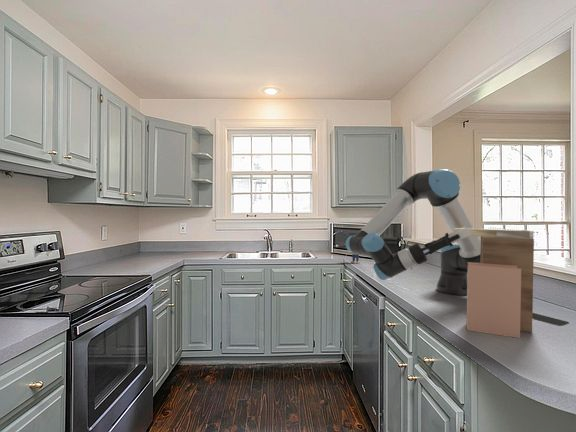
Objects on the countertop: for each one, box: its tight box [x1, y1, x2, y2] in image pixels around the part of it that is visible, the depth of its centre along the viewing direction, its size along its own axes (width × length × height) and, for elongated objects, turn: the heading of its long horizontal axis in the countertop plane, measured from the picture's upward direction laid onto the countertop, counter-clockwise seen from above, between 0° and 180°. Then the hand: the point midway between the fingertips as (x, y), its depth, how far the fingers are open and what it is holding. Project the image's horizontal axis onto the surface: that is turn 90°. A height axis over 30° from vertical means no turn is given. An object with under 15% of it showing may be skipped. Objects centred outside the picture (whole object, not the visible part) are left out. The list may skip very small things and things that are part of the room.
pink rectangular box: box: [466, 262, 521, 339], centre depth 104 cm, size 7×14×21 cm, turn 63°
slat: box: [454, 228, 524, 237], centre depth 114 cm, size 4×20×2 cm, turn 52°
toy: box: [345, 251, 366, 264], centre depth 243 cm, size 15×7×18 cm, turn 79°
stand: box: [480, 228, 535, 333], centre depth 110 cm, size 9×14×32 cm, turn 63°
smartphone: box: [532, 312, 570, 327], centre depth 117 cm, size 7×1×15 cm
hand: (468, 230), depth 115 cm, fingers open, 13 cm apart
